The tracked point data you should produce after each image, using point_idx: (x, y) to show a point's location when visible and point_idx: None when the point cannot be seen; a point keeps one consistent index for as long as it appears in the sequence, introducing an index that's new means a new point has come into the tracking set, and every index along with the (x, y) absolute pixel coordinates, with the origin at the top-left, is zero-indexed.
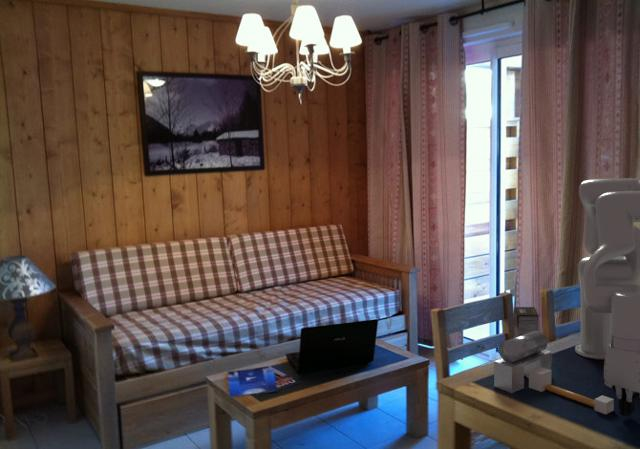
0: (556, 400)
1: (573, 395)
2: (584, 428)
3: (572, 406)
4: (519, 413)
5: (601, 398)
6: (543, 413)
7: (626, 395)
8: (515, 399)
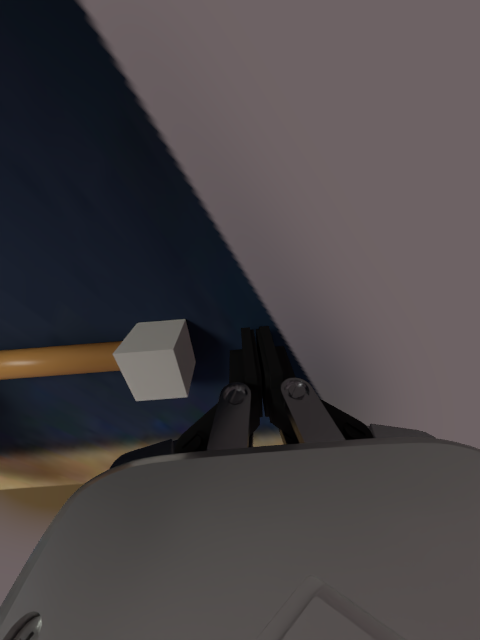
0: (40, 394)
1: (38, 376)
2: None
3: (100, 390)
4: None
5: (142, 379)
6: (114, 454)
7: (257, 406)
8: (10, 454)
